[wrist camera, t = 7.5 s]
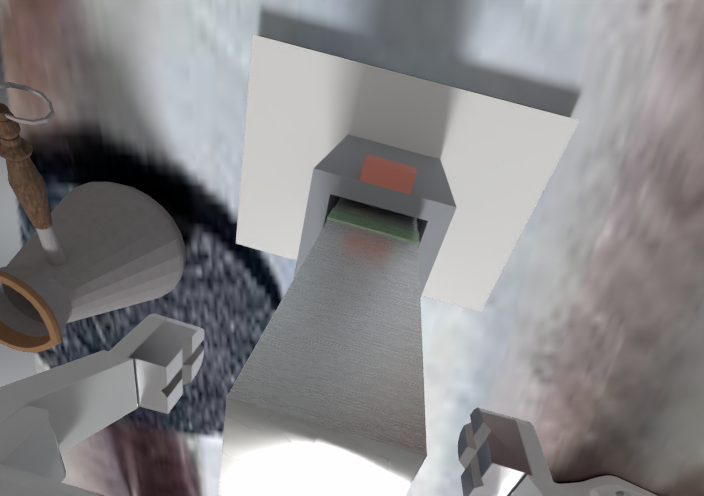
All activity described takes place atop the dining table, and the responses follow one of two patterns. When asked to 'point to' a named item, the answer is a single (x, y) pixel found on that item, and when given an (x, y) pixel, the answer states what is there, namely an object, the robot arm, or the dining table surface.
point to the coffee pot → (79, 249)
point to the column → (336, 370)
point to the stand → (391, 163)
